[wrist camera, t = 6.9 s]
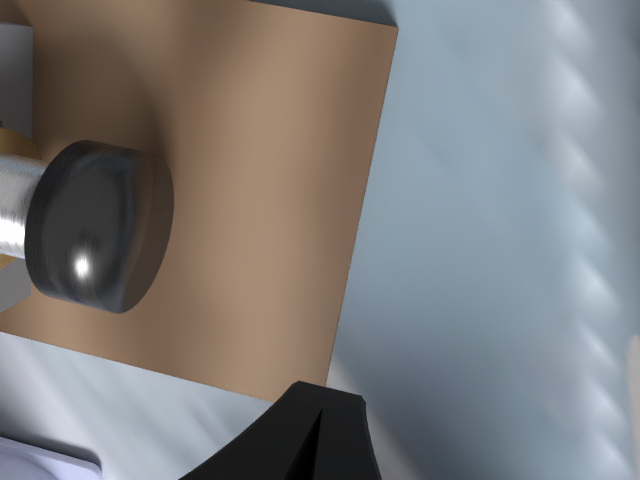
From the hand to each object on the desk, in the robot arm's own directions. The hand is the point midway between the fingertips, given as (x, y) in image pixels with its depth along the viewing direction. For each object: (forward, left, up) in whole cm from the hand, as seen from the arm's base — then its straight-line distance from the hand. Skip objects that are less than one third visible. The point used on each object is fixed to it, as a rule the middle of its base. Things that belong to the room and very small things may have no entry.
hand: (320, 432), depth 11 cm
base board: (+1, +14, -10) cm, 17 cm away
